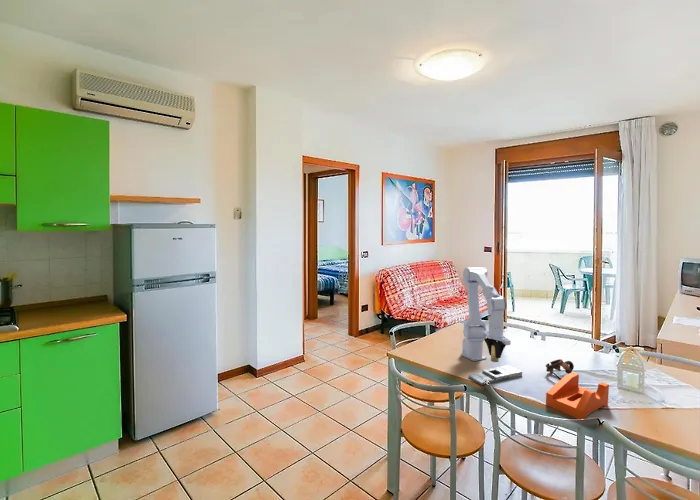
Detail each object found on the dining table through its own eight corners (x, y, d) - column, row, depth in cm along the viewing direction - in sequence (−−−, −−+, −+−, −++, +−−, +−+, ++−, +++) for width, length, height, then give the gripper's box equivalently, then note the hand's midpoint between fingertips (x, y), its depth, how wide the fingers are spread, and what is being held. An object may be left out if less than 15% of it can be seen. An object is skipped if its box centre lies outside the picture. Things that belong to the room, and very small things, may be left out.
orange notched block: (571, 392, 147) (572, 372, 146) (607, 406, 136) (609, 384, 135) (545, 405, 137) (546, 383, 136) (582, 421, 126) (583, 397, 126)
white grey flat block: (481, 385, 153) (481, 380, 153) (468, 377, 160) (468, 373, 160) (522, 376, 161) (522, 371, 161) (507, 369, 169) (507, 364, 168)
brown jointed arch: (565, 385, 154) (554, 365, 156) (548, 385, 162) (538, 367, 164) (584, 372, 158) (573, 354, 160) (567, 374, 167) (557, 356, 169)
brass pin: (489, 360, 161) (489, 344, 160) (495, 359, 162) (495, 343, 161) (494, 362, 158) (494, 346, 158) (500, 361, 159) (500, 345, 158)
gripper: (476, 321, 164) (475, 352, 165) (501, 331, 150) (500, 364, 152) (489, 320, 167) (488, 349, 168) (514, 329, 153) (513, 361, 154)
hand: (495, 356), depth 160 cm, fingers closed on brass pin, 3 cm apart
